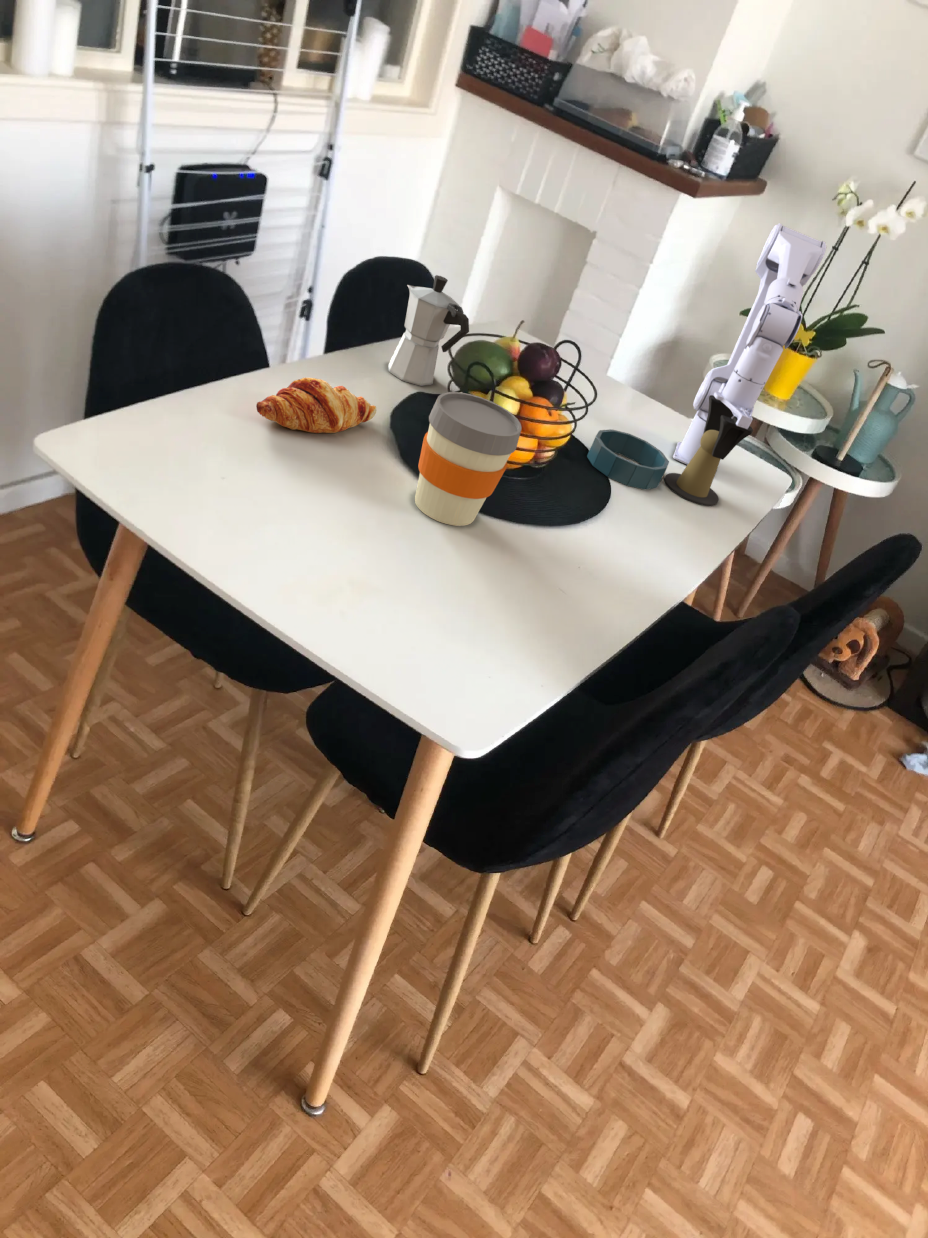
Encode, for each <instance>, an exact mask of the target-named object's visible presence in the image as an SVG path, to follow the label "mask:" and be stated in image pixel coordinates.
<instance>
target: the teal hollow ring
mask: <svg viewBox="0 0 928 1238" xmlns="http://www.w3.org/2000/svg"><path fill="white" fill-rule="evenodd" d="M618 454H619V455H621V456H619V455H618ZM586 457H587V459H588V461H589V462H590V464H591V465H592V467H594V468H595V469H596V470H598V471H599V472H601V474H603V475H604V476H606V477H607V478H609V479H611V480H613V481H616V482H618V483H620V484H622V485H624V486H627V487H631V488H636V489H641V490H651V489H657V488H659V485H660V483H661V481H662V479H663V478H664V475H665V473H666V471H667V469H668V466H669V463H670V461H669V459H668V458H667V457H666V455H665V454H664V452H663V451H661V450H660V449H659V448H657V447H656V446H655V445H653V444H652V443H650V442H649V441H647V440H645V439H642V438H640V437H638V436H636V435H634V434H631V433H629V432H625V431H620V430H616V429H611V428H609V429H600V430H598V432H597V433H596V435H595V437H594V439H593V441H592V443H591V445H590V448H589V450H588V453H587V455H586ZM624 457H625V458H624ZM626 458H628V459H630V460H628V459H626ZM631 460H632V461H631ZM633 461H634V462H633ZM635 462H637V463H635Z"/></svg>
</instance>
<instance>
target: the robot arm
mask: <svg viewBox="0 0 928 1238" xmlns="http://www.w3.org/2000/svg"><path fill="white" fill-rule="evenodd" d="M827 247H828V246H827V242H826V241H824V240H819V239H816V238H814V237H812V236H809V235H807V234H805V233H802V232H800V231H797V230H795V229H794V228H793V229H792V228H790V227H789V226H788V227H787V226H785V225H783V223H780V222H779V223H777V224H775V225H774V226H773V227H772V229H771V231H770V232H769V235H768V236H767V239H766V241H765V242H764V245H763V248H762V251H761V253H760V255H759V257H758V259H757V262H756V268H755V271H754V272H755V273H756V275H757V276H758V277H759V279H760V282H759V287H758V292H757V295H756V297H755V300H754V302H753V305H752V306H751V308H750V311H749V313H748V316H747V318H746V320H745V322H744V325H743V327H742V330H741V332H740V334H739V337H738V339H737V341H736V342H735V345H734V348H733V350H732V352H731V354H730V357H729V359H728V361H727V364H725V365H721V366H718V367H713V368H711V369H710V370H709V371H708V372H707V373H706V375H705V376H704V379H703V381H702V382H701V384H700V386H699V387H698V390H697V393H696V395H695V396H694V397H695V398H694V400H693V403H692V406H693V410H696V412H695V414H694V417H693V419H692V420H691V423H690V424H689V427H688V429H687V431H686V433H685V434H684V437H683V439H682V441H678V442H677V443H676V447H675V450H674V452H673V455H672V459H674V460H676V461H678V462H680V463H682V464H685V465H686V466H687V465H688V464H689V462H690V461H691V459H692V458H693V456H694V455H695V453H696V452H697V451H698V449H699V448H700V446H701V445H700V440H701V437H702V435H703V434H704V433H705V432H706V431H708V430H716V431H719V434H718V437H717V440H716V443H715V445H714V448H713V451H712V456H713V457H716V458H719V459H721V460H725V458H727V456H728V455H729V454H730V453H731V451H733V450H734V448H735V447H736V446H737V445H738V444H739V443H741V442H742V441H743V440H745V439H746V438H747V437H749V436H751V435H752V434H753V433H754V429H753V428H752V426H751V424H752V422H753V413H754V409H755V404H756V403H757V401H758V398H759V397H760V395H761V393H762V391H763V389H764V388H765V385H766V384H767V382H768V380H769V378H770V376H771V375H772V372H773V370H774V369H775V366H776V365H777V363H778V361H779V360H780V357H781V355H782V353H783V352H784V349H788V348H789V346H790V345H791V344H792V342H793V341H794V339H795V338H796V336H797V333H798V332H799V329H800V327H801V324H802V320H803V313H802V311H800V307H801V304H802V300H803V296H804V288H803V287H804V286H806V285H807V283H808V282H809V280H810V279H811V277H812V276H813V275H814V274H815V273H816V271H817V270H818V268H819V266H820V264H821V263H822V261H823V259H824V256H825V253H826V251H827Z"/></svg>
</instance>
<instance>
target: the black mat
mask: <svg viewBox="0 0 928 1238" xmlns="http://www.w3.org/2000/svg"><path fill="white" fill-rule="evenodd" d="M681 474H682V473H677V472H669V473H667V474H665V476H664V477H663V481H664V484H665V485H666V486H667V488H668V489H669V490H671V491H672V492H673V493H674V494H676V495H677V496H679V497H681V499H684V500H686V501H688V502H691V503H694V504H697V505H699V506H704V507H714V506H716V505H717V504H719V501H720V499H719V496H718V494H717V493H716V492H715V490H713V489H712V488H711V487H710V490H709V492H708V495H707V497H697V496H694V495H691V494H689V493H687V492H685V491H684V490H682V489H681V488H680V487H679V486H678V485H677V483H676V482H677V480H678V478H679V477H680V475H681Z"/></svg>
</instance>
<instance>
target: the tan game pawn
mask: <svg viewBox="0 0 928 1238" xmlns="http://www.w3.org/2000/svg"><path fill="white" fill-rule="evenodd" d="M718 434H719V431H716V430H708V431H706V432H705V433H704V434H703V435H702V437H701V440H700V445H701V446H700V448H699V449H698V451H697V452H696V453H695V455H694V456H693V458H692V459H691V461H690V462H689V464H688V465H687V464H686V467H685V468H684V469H683V470H682V472H681V473H680V474H681V475H680V477H679V478H678V480H677V482H676V483H677V485H678V486H679V487H680V488H681V489H682V490H684V491H685V492H687V493H689V494H691V495H694V496H697V497H707V495H708V492H709V490H710V488H711V487H712V484H713V482H714V478H715V476H716V473H717V471H718V468H719V465H720V462H721V460H722V459H719V458H716V457H713V456H712V451H713V448H714V445H715V443H716V440H717V437H718Z"/></svg>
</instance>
